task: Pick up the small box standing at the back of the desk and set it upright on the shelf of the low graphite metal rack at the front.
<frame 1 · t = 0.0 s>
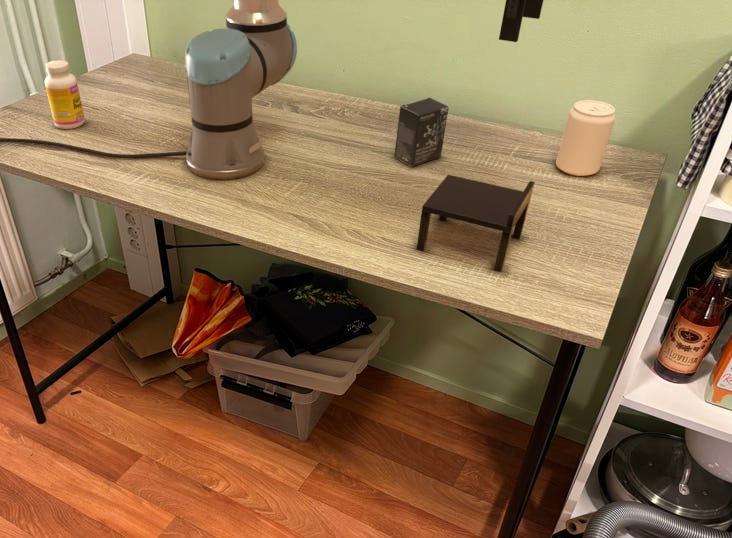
hand: (519, 28, 107), 28 cm above the table, tool pointing down, fingers open, 13 cm apart
supplement bottle: (70, 124, 151), on the table
rack: (469, 242, 112), on the table
beverage can: (576, 169, 132), on the table
box: (417, 158, 136), on the table
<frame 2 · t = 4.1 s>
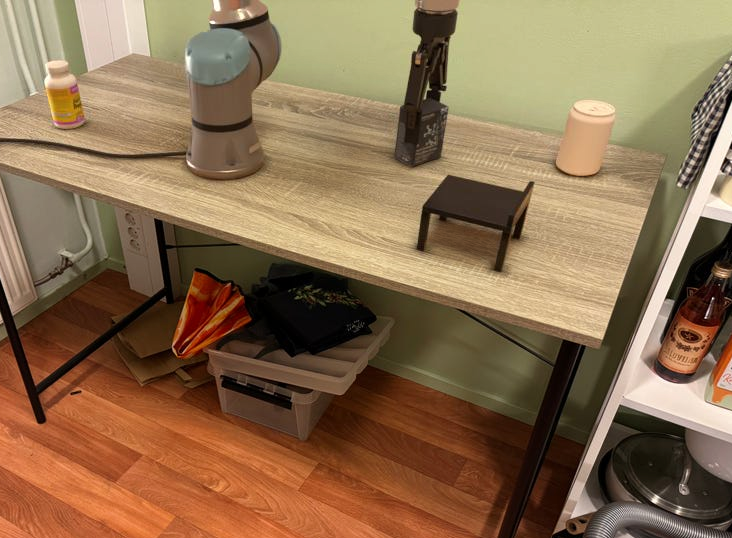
hand: (420, 133, 133), 5 cm above the table, tool pointing down, fingers closed on box, 9 cm apart
box: (417, 158, 136), on the table, touching gripper
everything else where it was.
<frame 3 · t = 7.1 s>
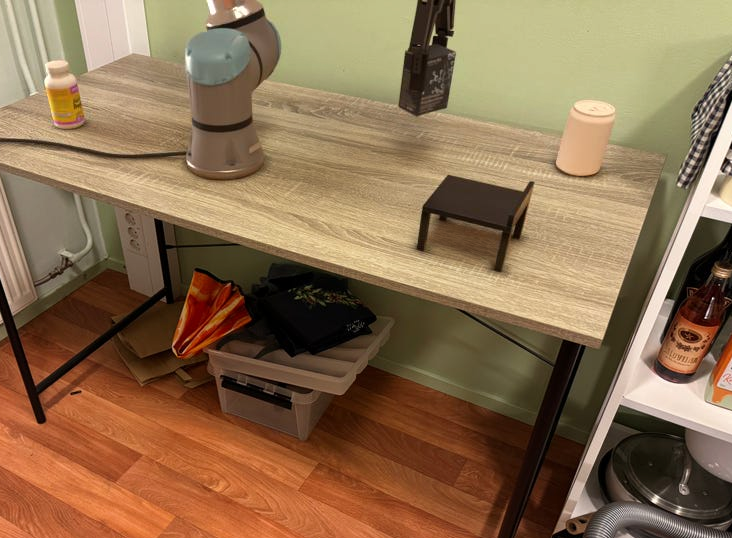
hand: (426, 81, 126), 15 cm above the table, tool pointing down, fingers closed on box, 9 cm apart
box: (422, 109, 130), point 10 cm above the table, touching gripper
everything else where it was.
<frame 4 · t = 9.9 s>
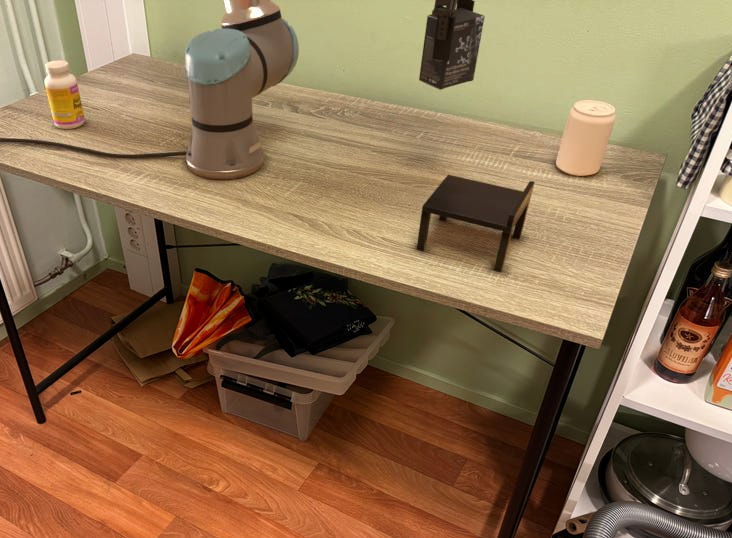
hand: (450, 50, 113), 24 cm above the table, tool pointing down, fingers closed on box, 9 cm apart
box: (446, 82, 117), point 18 cm above the table, touching gripper
everything else where it was.
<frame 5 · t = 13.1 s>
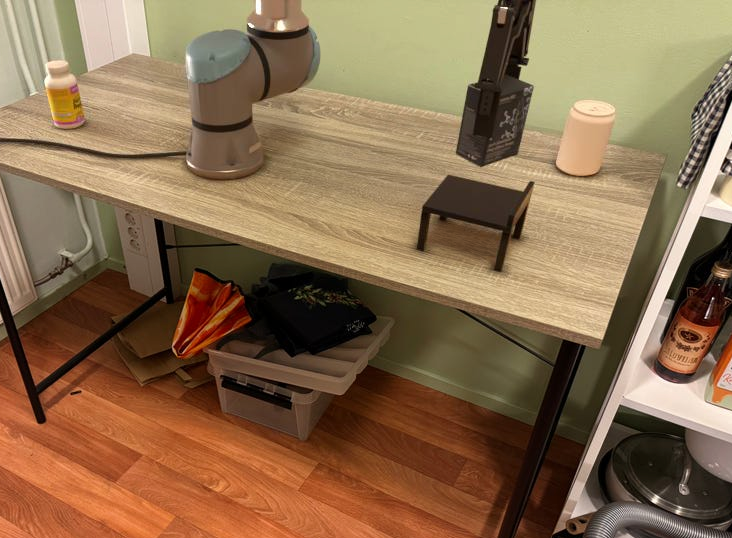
hand: (492, 122, 99), 20 cm above the table, tool pointing down, fingers closed on box, 9 cm apart
box: (486, 156, 102), point 15 cm above the table, touching gripper
everything else where it was.
when the fingers open (13 cm above the table, at t = 15.9 s): box stays where it is, resting on rack.
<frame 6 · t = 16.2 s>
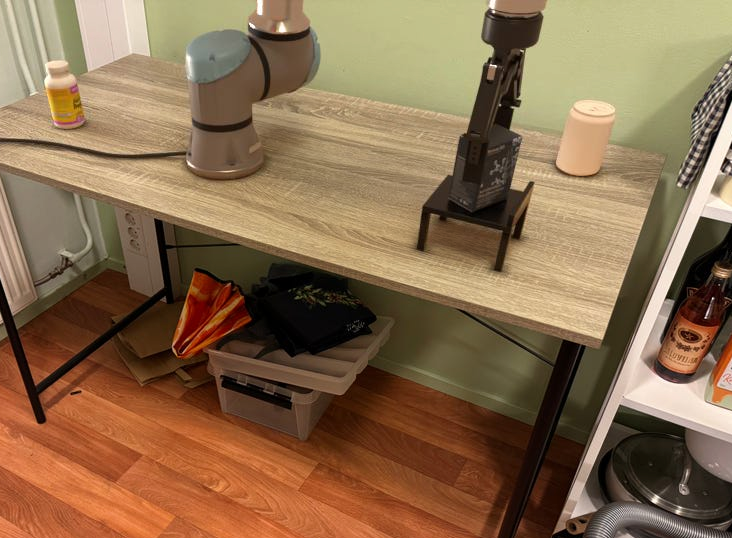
hand: (484, 164, 103), 14 cm above the table, tool pointing down, fingers open, 12 cm apart
box: (477, 200, 107), point 8 cm above the table, touching rack
everything else where it was.
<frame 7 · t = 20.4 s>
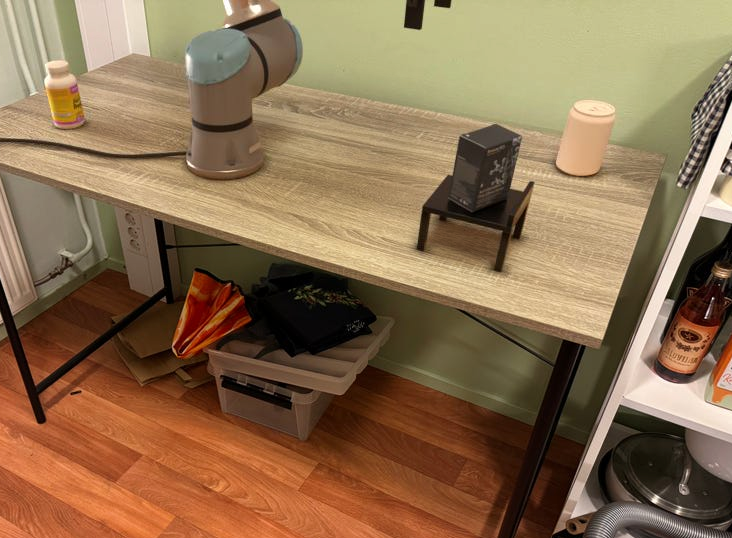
hand: (428, 17, 110), 29 cm above the table, tool pointing down, fingers open, 13 cm apart
nothing on the table moved.
at the end: box inside the target area on the rack (0.0 cm from its centre), point 7.8 cm above the rack's base; box tilted 0°; the gripper is holding nothing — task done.
